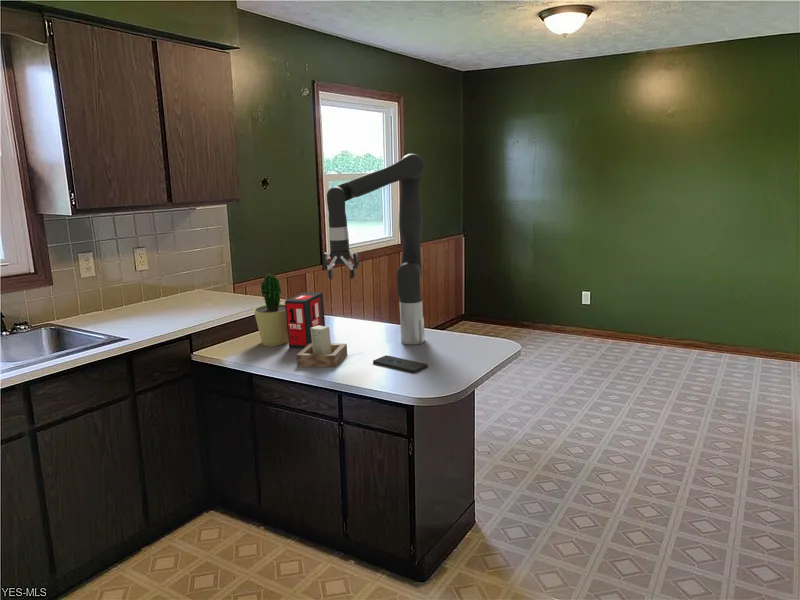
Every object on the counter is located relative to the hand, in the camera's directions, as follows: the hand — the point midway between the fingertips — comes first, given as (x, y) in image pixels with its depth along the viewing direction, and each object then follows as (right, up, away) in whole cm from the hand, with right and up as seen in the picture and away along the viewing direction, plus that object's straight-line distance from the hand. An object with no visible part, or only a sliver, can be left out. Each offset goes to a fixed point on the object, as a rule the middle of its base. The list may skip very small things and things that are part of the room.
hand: (341, 278), depth 241 cm
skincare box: (-6, -31, -10) cm, 33 cm away
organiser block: (-6, -31, -10) cm, 34 cm away
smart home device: (+23, -33, -20) cm, 45 cm away
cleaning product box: (-15, -27, +14) cm, 34 cm away
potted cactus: (-30, -26, +18) cm, 44 cm away
